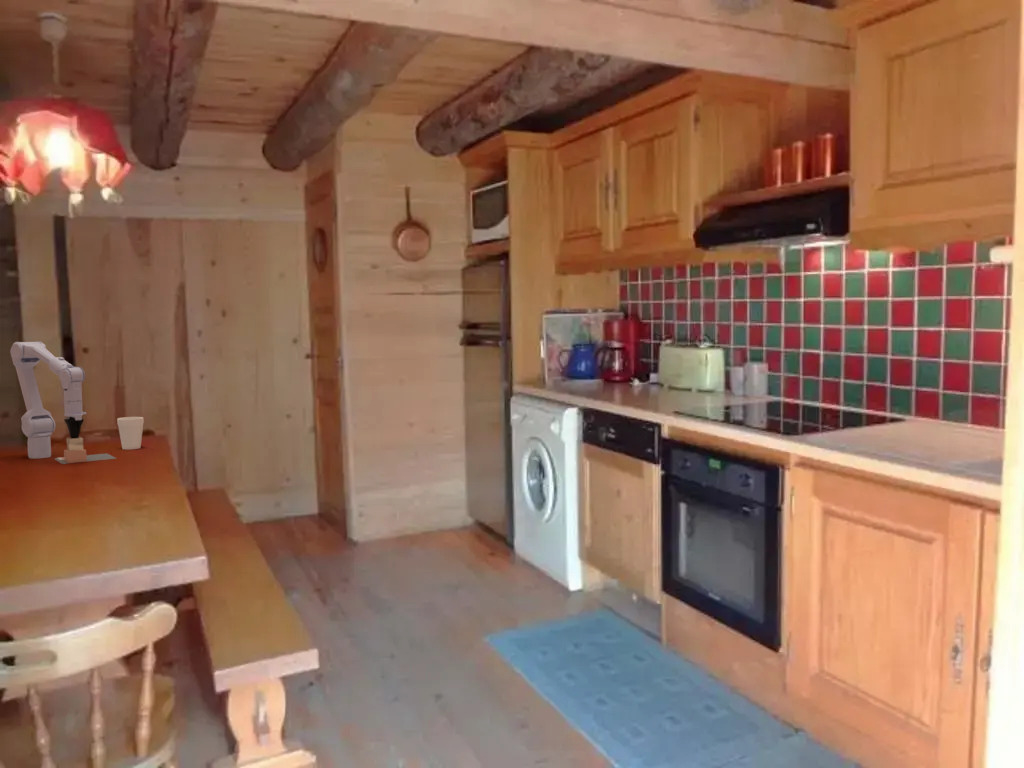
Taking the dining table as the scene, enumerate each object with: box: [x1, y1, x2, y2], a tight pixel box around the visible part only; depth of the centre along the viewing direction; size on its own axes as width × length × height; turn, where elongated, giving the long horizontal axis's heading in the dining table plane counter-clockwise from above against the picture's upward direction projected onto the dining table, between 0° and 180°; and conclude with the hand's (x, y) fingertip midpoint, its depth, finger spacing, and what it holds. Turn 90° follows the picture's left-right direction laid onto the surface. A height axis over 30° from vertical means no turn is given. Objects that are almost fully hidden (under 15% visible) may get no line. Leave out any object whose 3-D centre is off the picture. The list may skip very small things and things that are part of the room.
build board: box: [53, 452, 117, 465], centre depth 294 cm, size 14×18×1 cm
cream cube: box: [66, 436, 84, 451], centre depth 288 cm, size 4×4×4 cm
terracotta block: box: [63, 448, 88, 464], centre depth 289 cm, size 6×6×4 cm
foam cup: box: [116, 416, 145, 450], centre depth 318 cm, size 10×9×13 cm
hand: (74, 438), depth 288 cm, fingers closed, pressing on cream cube
